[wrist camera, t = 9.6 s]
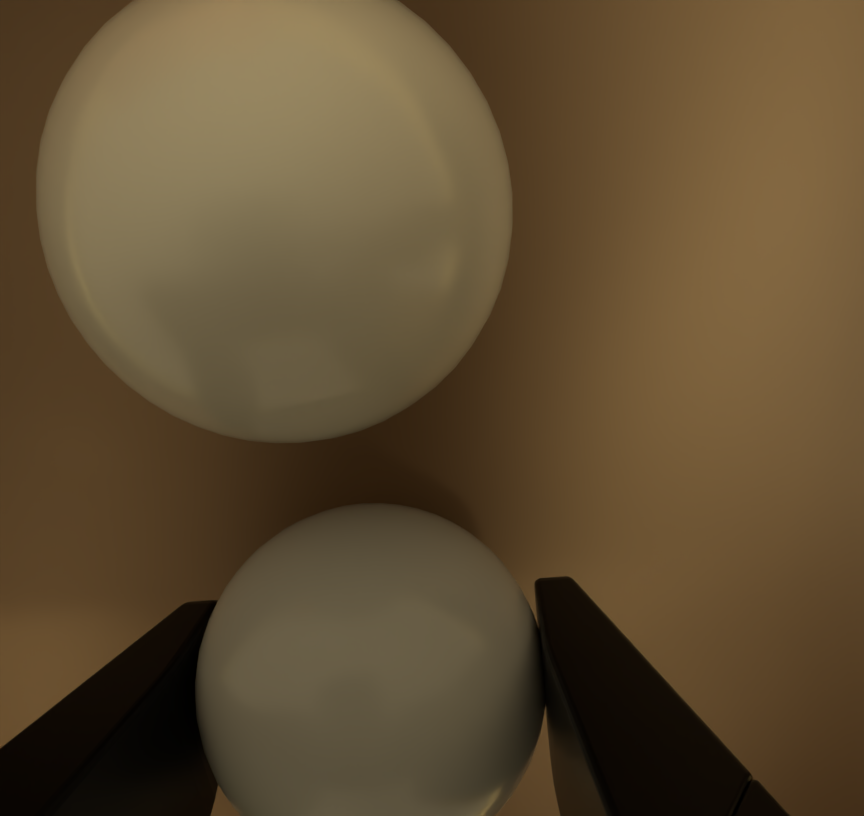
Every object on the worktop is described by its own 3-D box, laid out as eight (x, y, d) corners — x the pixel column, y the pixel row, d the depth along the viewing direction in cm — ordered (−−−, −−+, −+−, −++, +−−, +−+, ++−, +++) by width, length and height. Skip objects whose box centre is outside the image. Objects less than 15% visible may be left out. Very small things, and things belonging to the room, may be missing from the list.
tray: (1314, -370, 6) (1742, -572, 4) (974, 914, 13) (1072, 1087, 11) (-577, -76, 8) (-970, -116, 6) (-12, 943, 15) (-95, 1101, 13)
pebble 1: (488, -50, 7) (502, -118, 4) (515, 331, 9) (545, 513, 5) (99, 3, 7) (-188, -18, 4) (192, 362, 9) (33, 551, 6)
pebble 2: (524, 430, 9) (554, 653, 6) (541, 672, 11) (574, 955, 7) (216, 456, 9) (85, 680, 6) (276, 687, 11) (195, 967, 8)
